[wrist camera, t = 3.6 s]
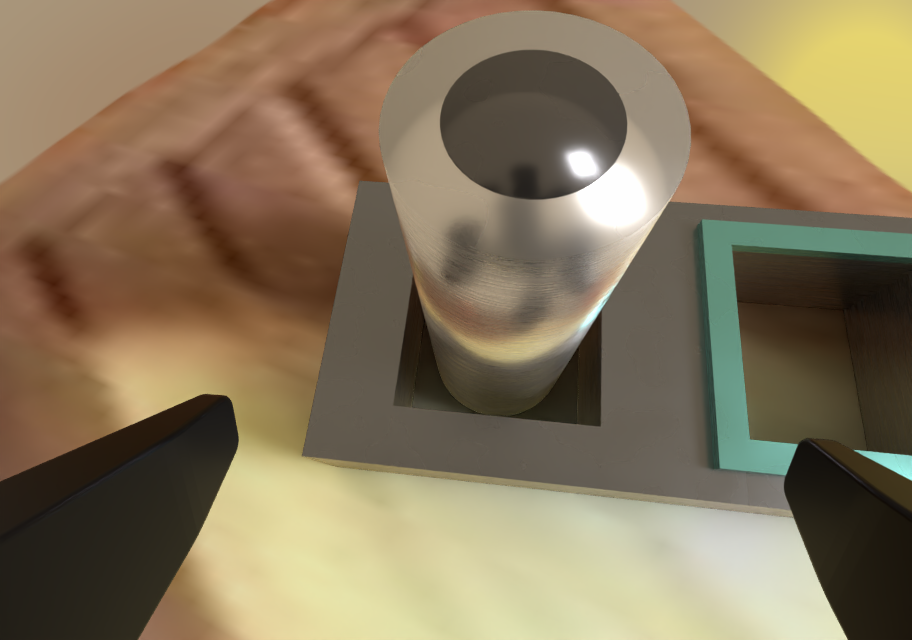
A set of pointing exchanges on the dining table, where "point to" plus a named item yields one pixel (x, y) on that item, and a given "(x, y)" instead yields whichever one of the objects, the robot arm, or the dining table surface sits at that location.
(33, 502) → the robot arm
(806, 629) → the dining table surface
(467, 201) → the steel sleeve
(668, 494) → the jig plate
